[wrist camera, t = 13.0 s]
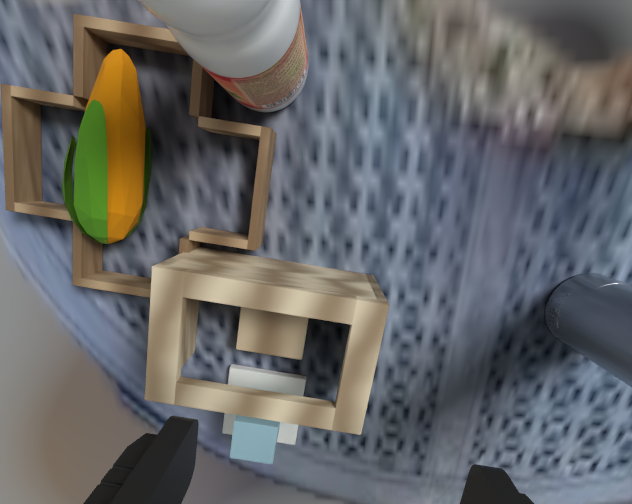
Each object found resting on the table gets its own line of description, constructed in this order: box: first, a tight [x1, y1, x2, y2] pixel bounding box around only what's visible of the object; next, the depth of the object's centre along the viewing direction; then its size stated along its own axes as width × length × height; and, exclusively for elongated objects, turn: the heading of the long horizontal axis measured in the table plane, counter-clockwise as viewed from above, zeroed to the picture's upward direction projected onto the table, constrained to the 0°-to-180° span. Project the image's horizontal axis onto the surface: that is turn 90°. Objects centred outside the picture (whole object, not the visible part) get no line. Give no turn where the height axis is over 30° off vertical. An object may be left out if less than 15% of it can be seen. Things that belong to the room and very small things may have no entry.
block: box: [230, 415, 280, 464], centre depth 39 cm, size 5×5×6 cm
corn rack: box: [1, 14, 276, 298], centre depth 35 cm, size 28×28×4 cm
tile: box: [222, 364, 306, 445], centre depth 42 cm, size 10×10×1 cm
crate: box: [145, 247, 389, 435], centre depth 35 cm, size 22×14×10 cm, turn 81°
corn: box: [62, 49, 151, 244], centre depth 33 cm, size 7×8×20 cm
